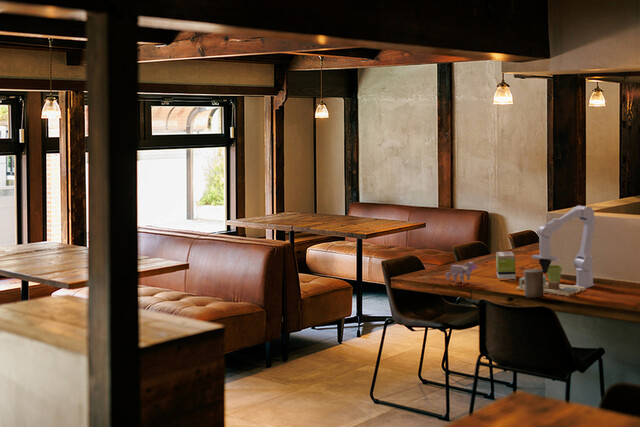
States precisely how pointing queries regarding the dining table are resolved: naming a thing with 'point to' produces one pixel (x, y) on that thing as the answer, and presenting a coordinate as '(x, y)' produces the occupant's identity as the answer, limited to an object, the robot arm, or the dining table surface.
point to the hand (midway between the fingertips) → (545, 273)
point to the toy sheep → (461, 271)
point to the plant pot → (554, 273)
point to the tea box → (505, 265)
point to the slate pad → (568, 289)
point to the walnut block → (553, 285)
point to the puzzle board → (559, 292)
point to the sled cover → (523, 279)
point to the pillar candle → (533, 283)
